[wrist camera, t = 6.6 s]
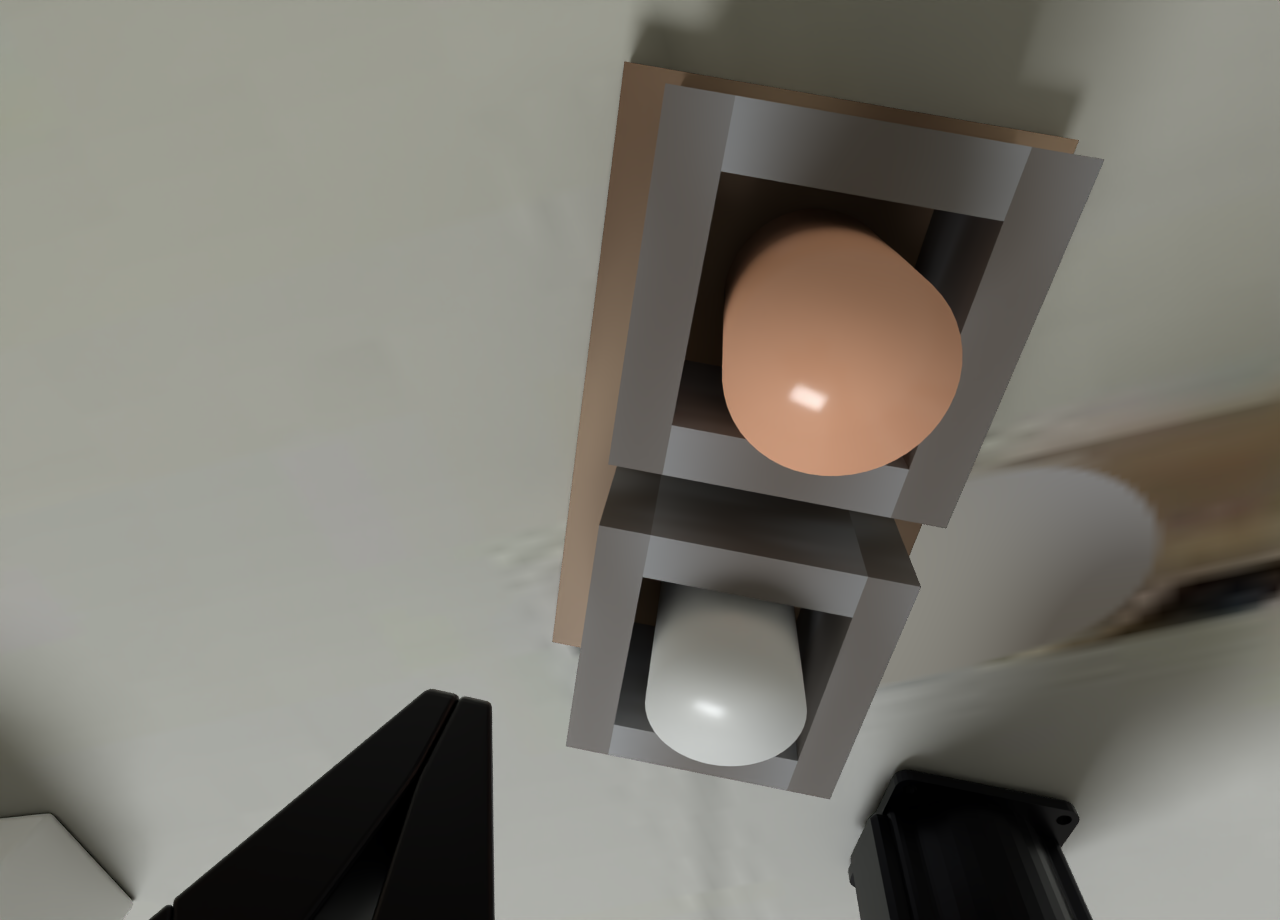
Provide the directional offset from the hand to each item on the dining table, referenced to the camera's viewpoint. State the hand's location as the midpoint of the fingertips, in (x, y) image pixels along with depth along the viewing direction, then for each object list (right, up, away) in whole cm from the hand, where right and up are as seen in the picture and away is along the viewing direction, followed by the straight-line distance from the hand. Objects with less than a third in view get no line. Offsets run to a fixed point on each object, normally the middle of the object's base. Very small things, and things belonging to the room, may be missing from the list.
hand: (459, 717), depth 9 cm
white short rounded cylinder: (+5, 0, +12) cm, 13 cm away
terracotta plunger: (+6, +7, +7) cm, 12 cm away
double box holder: (+6, +4, +11) cm, 13 cm away
